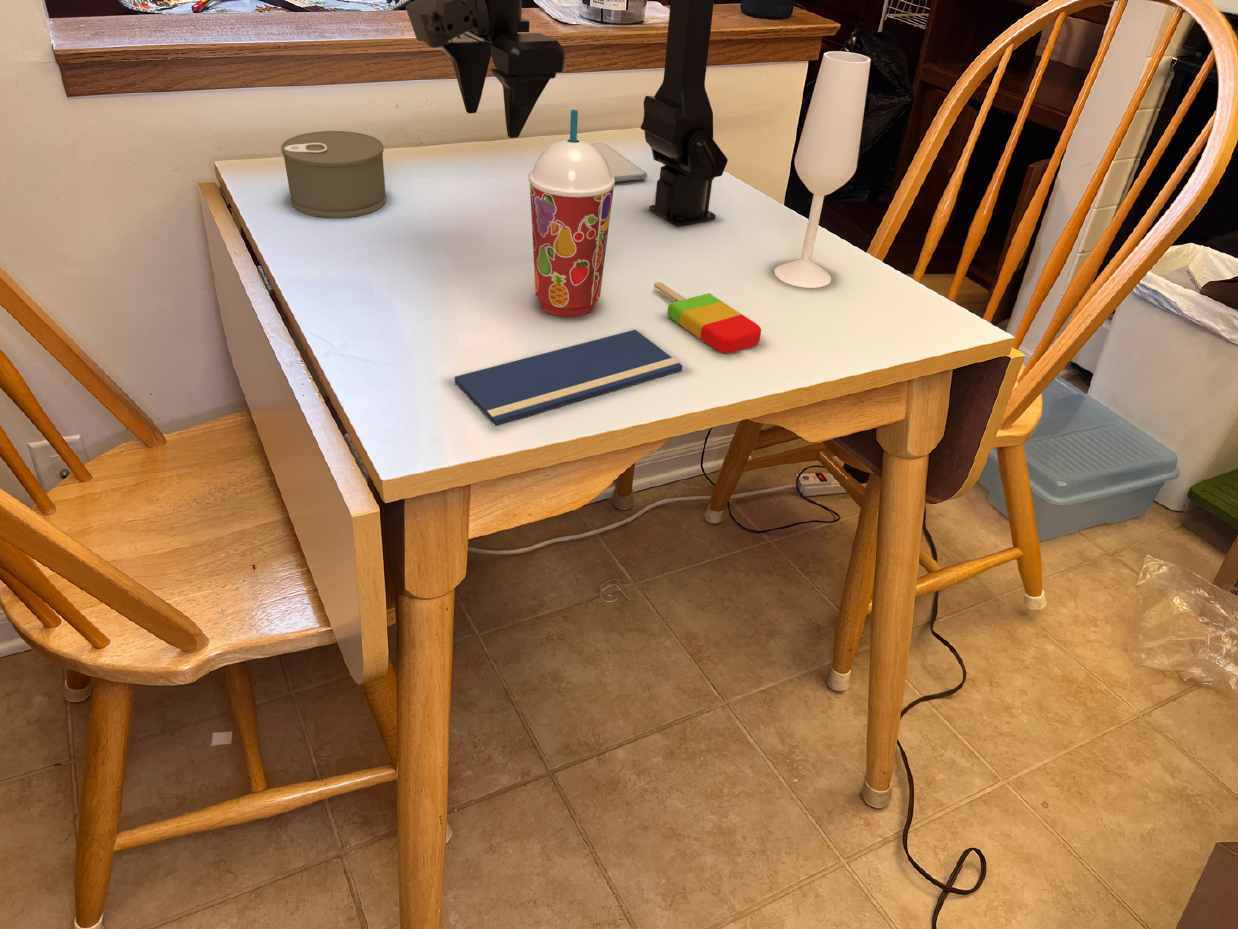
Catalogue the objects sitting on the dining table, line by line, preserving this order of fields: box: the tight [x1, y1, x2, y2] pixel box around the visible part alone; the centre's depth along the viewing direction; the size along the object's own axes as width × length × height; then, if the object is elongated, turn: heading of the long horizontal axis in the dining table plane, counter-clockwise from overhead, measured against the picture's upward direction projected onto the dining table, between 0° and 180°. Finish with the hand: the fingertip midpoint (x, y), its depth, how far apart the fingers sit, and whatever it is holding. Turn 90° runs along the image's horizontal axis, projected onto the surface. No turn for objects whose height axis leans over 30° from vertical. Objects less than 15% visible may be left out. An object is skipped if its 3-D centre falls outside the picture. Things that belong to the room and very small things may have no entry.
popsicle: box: [653, 281, 762, 354], centre depth 95 cm, size 6×15×2 cm, turn 34°
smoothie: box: [528, 109, 616, 318], centre depth 91 cm, size 8×8×20 cm
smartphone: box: [590, 142, 648, 183], centre depth 132 cm, size 8×1×15 cm
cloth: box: [454, 329, 683, 426], centre depth 85 cm, size 20×8×1 cm, turn 124°
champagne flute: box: [773, 50, 872, 289], centre depth 100 cm, size 7×7×24 cm
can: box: [280, 130, 387, 219], centre depth 113 cm, size 12×12×7 cm
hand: (491, 124), depth 97 cm, fingers open, 9 cm apart
